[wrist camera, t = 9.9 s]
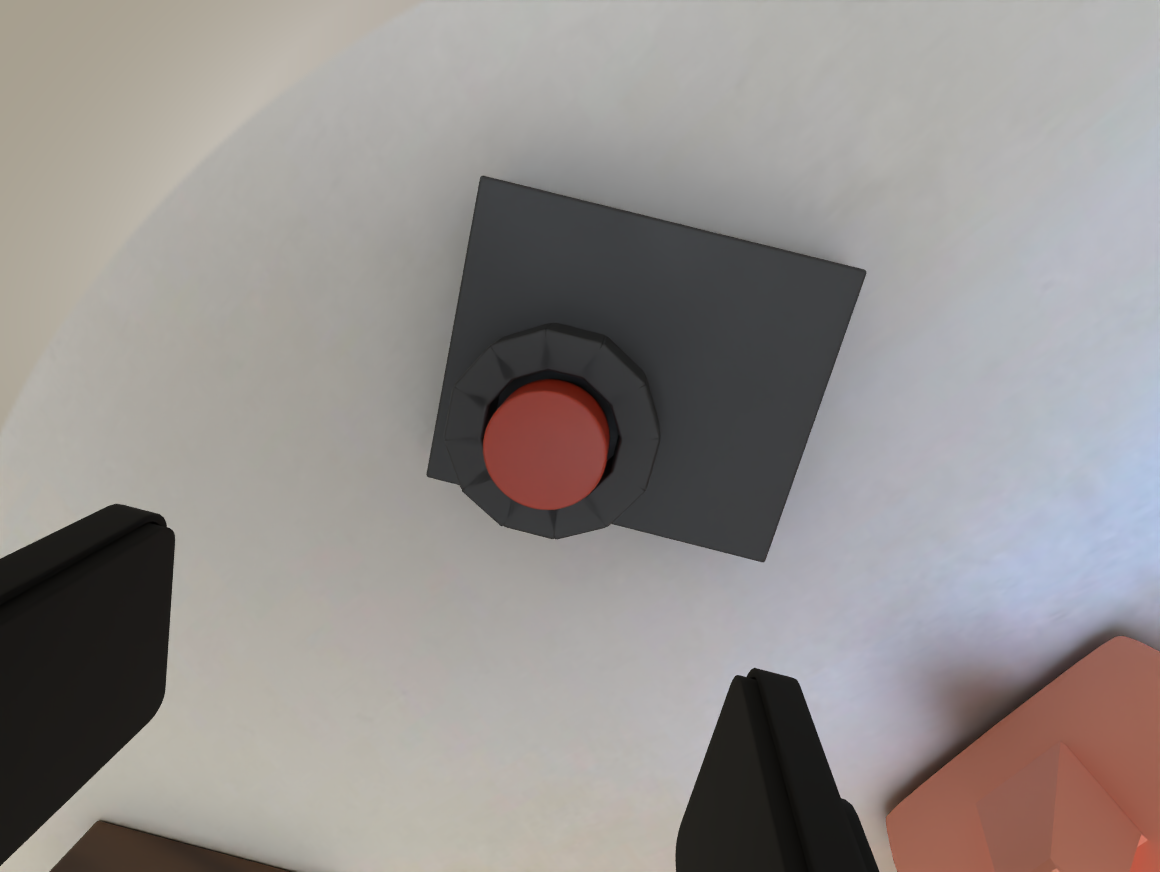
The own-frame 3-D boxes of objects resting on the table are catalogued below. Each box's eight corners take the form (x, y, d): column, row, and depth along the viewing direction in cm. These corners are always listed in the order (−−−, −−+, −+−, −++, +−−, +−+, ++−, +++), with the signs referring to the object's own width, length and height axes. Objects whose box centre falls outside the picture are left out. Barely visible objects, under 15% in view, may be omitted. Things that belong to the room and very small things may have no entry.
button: (484, 474, 21) (472, 493, 20) (507, 365, 20) (495, 376, 19) (594, 502, 21) (590, 524, 20) (622, 395, 20) (621, 407, 19)
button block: (442, 464, 25) (406, 503, 21) (495, 181, 22) (465, 168, 18) (752, 543, 25) (773, 596, 21) (846, 268, 22) (890, 272, 18)
